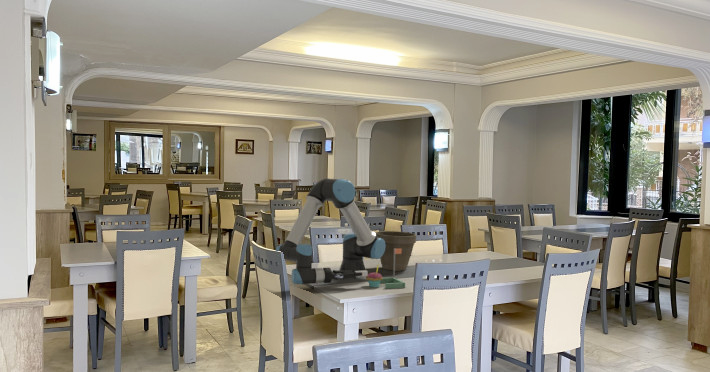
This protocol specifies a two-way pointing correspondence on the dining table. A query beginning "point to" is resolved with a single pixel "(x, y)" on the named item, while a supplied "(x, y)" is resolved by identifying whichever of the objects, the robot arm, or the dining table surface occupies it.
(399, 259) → the plant pot
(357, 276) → the robot arm
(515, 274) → the dining table surface
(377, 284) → the cupcake
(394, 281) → the mini putting green
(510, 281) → the dining table surface
